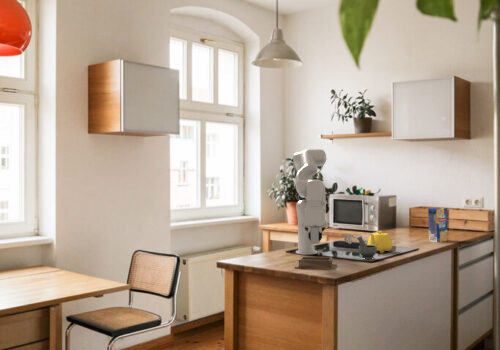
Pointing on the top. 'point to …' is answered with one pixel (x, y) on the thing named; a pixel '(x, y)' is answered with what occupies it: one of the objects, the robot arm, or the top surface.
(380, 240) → the teapot
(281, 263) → the top surface
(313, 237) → the bracket block
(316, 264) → the brown wooden base plate
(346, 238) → the bracket
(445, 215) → the blue food box
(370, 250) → the mortar and pestle
